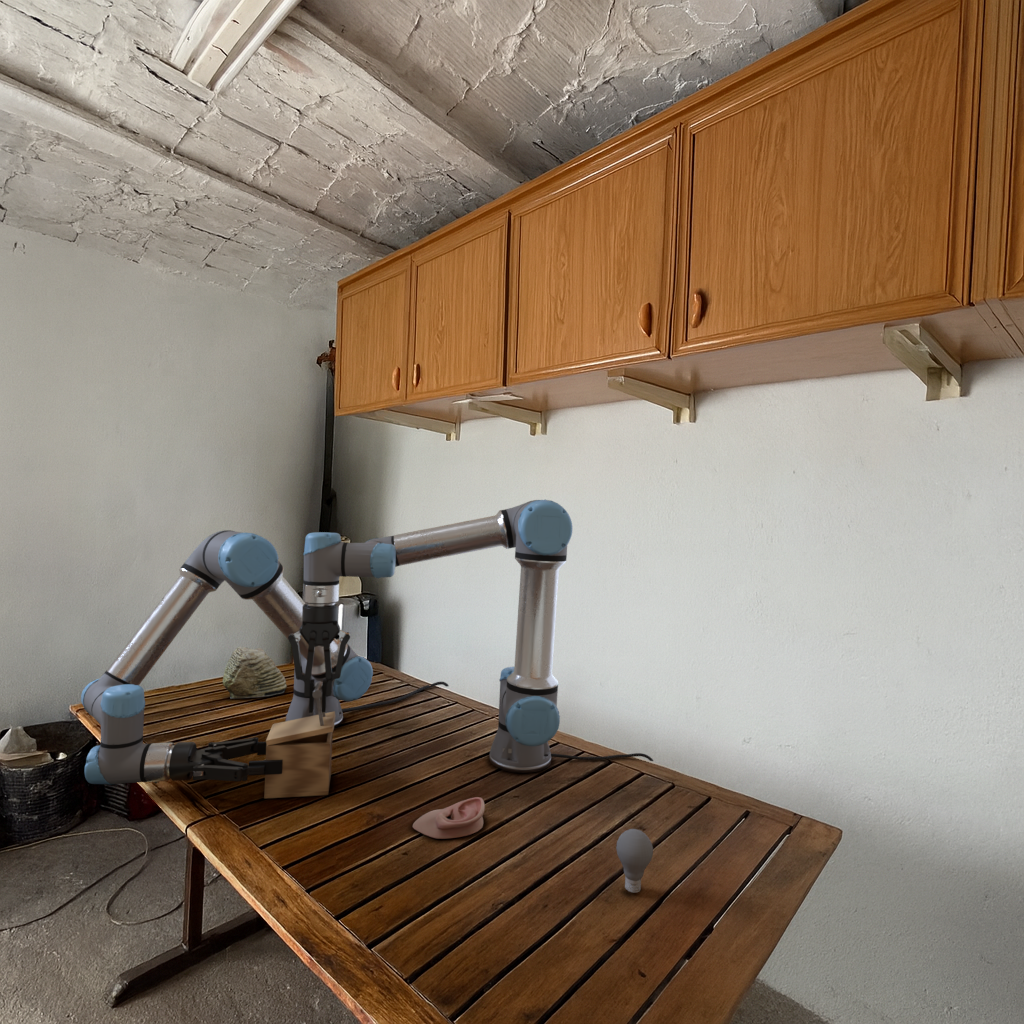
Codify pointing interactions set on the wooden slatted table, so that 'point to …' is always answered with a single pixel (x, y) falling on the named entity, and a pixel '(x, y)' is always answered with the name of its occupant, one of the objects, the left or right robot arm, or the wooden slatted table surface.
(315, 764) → the chest
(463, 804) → the anatomical model
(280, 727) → the lid
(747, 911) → the wooden slatted table surface
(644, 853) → the light bulb
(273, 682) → the fossil
